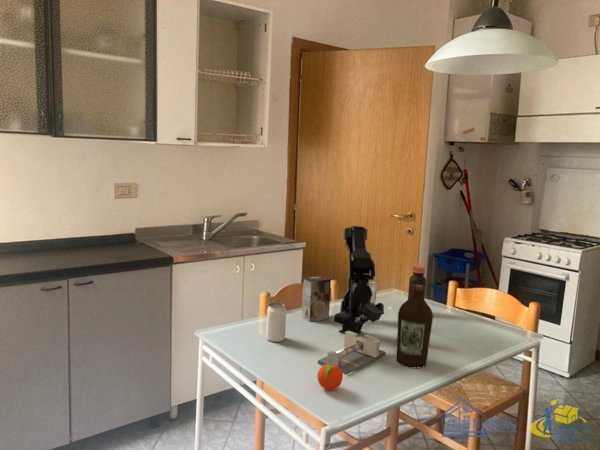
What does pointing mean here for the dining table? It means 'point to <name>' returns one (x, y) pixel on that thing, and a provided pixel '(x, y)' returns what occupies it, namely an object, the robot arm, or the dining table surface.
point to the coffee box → (316, 298)
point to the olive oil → (414, 330)
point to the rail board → (354, 361)
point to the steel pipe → (344, 352)
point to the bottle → (417, 279)
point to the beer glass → (373, 298)
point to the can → (276, 322)
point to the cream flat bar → (369, 343)
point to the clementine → (329, 376)
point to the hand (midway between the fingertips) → (355, 339)
